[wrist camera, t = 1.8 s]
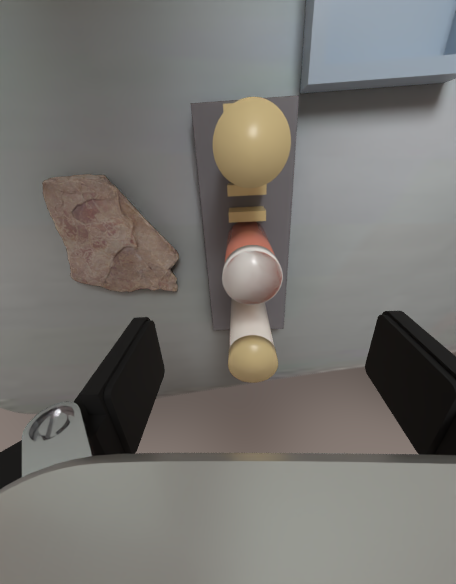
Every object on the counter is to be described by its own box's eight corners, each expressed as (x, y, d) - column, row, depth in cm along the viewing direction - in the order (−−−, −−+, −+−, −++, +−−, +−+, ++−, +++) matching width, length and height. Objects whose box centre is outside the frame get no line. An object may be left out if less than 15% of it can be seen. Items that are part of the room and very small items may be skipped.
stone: (177, 176, 23) (170, 178, 20) (184, 288, 28) (179, 300, 26) (53, 173, 23) (32, 174, 20) (85, 285, 28) (71, 296, 26)
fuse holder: (194, 108, 20) (154, 54, 10) (293, 101, 19) (351, 37, 10) (214, 320, 30) (204, 397, 20) (280, 318, 29) (303, 396, 19)
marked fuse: (226, 220, 22) (220, 251, 14) (266, 218, 22) (284, 248, 14) (228, 258, 24) (224, 305, 16) (266, 256, 23) (281, 304, 16)
